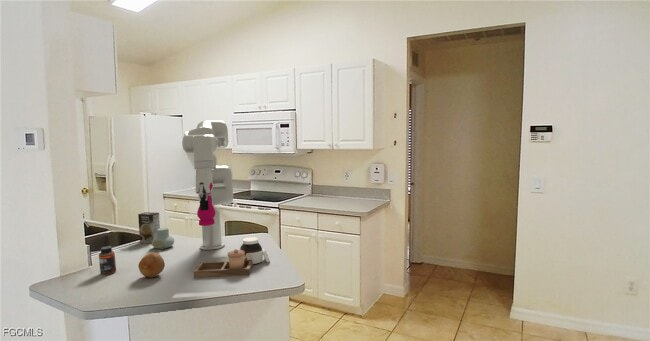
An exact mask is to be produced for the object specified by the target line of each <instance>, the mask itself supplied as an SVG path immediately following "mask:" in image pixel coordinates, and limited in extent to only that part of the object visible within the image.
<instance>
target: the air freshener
mask: <svg viewBox="0 0 650 341" xmlns="http://www.w3.org/2000/svg"><path fill="white" fill-rule="evenodd" d="M169 229H170V228H168V227H160V228H159V229H157V230H156V231H157V237H156V238H155V239H154V240H153V241H152V243H151V246H152V247H153V248H155V249H157V250H165V249H167V248H170V247H172V246H173V245H174V243H175V238H174V237H173V236H171V235H170V232H169V231H170V230H169Z"/></svg>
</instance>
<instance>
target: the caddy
mask: <svg viewBox="0 0 650 341" xmlns="http://www.w3.org/2000/svg"><path fill="white" fill-rule="evenodd" d="M244 263H245V268H239V269H229V260H228V261H226V260H225V261H208V262H205V261H204V262H200V263H199V264H198V265H197V267H195V269H194V271H193V278H194V279H198V278H217V277H234V276H235V277H237V276H250V275H251V271H252V268H253V266H254V265H253V263H252V260H244Z"/></svg>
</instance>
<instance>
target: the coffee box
mask: <svg viewBox="0 0 650 341" xmlns="http://www.w3.org/2000/svg"><path fill="white" fill-rule="evenodd" d="M137 215H138V216H137V217H138V231H139V232H138V233H139V243H144V244H146V243H147V244H149V243H150V244H152V241H153V240H154V239H155V238H156V237H157V231H156V230H157V229H159V228H161V225H160V224H161V223H160V222H161V221H160V212H150V211H148V212H147V211H146V212H142V213H138V214H137Z"/></svg>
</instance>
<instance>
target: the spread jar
mask: <svg viewBox="0 0 650 341" xmlns="http://www.w3.org/2000/svg"><path fill="white" fill-rule="evenodd" d="M239 250H243V251H245V254H244V260H252V263H253V266H256V265H259V264H261V263H262V262H263V261H264V260H265V261H266V263H270V262H271V260H270V258H269V254H268V253H267V251H266V249H265V248H262V246H261V244H260V243H259V238H258V237H255V236H251V237H246V238H243V239H242V244H241V245H240V248H239ZM263 259H264V260H263Z"/></svg>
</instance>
